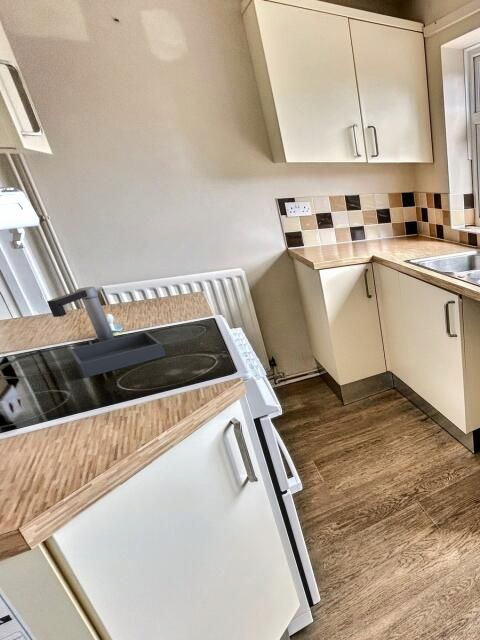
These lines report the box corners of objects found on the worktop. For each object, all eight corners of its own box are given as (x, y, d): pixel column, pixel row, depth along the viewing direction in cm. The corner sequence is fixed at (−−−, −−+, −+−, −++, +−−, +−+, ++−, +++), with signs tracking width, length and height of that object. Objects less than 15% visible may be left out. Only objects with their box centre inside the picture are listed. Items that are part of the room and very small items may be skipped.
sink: (85, 378, 96) (78, 364, 95) (74, 362, 104) (68, 349, 103) (166, 355, 107) (161, 343, 105) (150, 343, 115) (146, 331, 114)
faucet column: (98, 353, 109) (76, 302, 104) (94, 348, 112) (72, 298, 107) (126, 347, 113) (106, 296, 108) (121, 342, 116) (101, 293, 111)
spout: (49, 317, 97) (41, 301, 96) (89, 301, 109) (82, 287, 108) (66, 316, 98) (58, 300, 96) (104, 300, 110) (98, 286, 108)
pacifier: (93, 341, 117) (121, 336, 120) (83, 320, 115) (112, 315, 118) (98, 334, 123) (125, 329, 126) (89, 314, 120) (116, 309, 123)
